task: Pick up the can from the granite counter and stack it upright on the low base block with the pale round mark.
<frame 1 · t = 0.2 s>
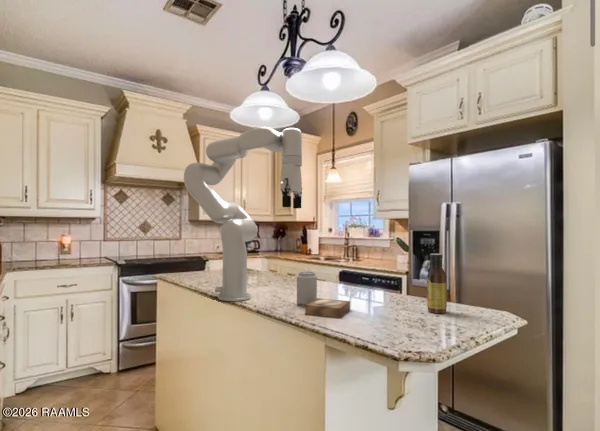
hand: (292, 207, 138), 36 cm above the table, tool pointing down, fingers open, 9 cm apart
can: (306, 304, 137), on the table
base: (328, 311, 125), on the table
sauce bottle: (436, 312, 126), on the table
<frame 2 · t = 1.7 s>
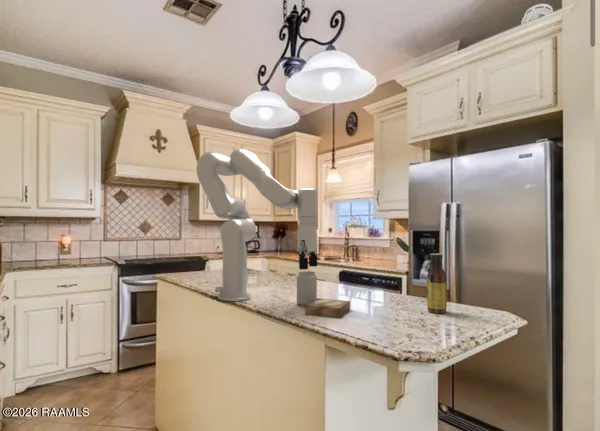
hand: (308, 267, 137), 14 cm above the table, tool pointing down, fingers open, 9 cm apart
nothing on the table moved.
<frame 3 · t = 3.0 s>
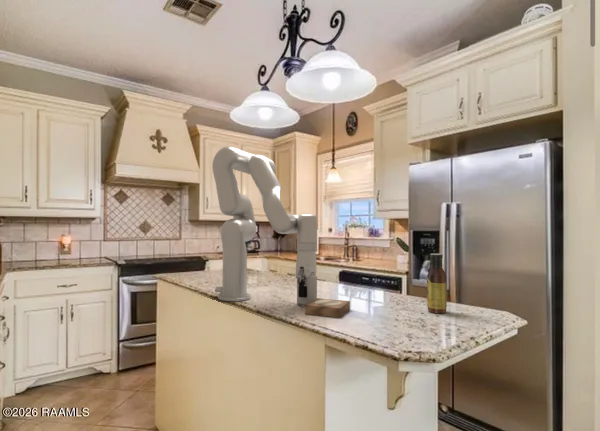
hand: (306, 294, 137), 3 cm above the table, tool pointing down, fingers closed on can, 7 cm apart
can: (306, 304, 137), on the table, touching gripper
everything else where it was.
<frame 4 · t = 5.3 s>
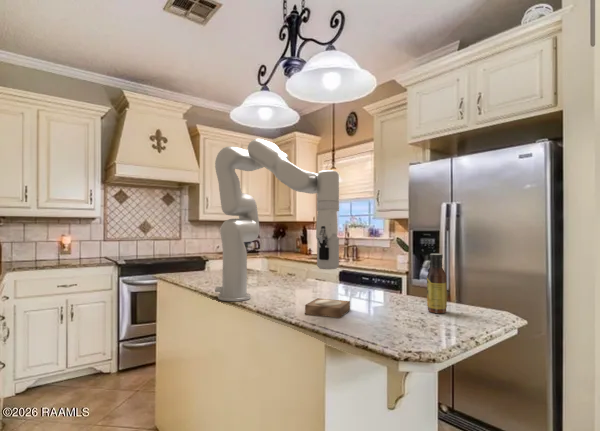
hand: (327, 258, 126), 18 cm above the table, tool pointing down, fingers closed on can, 7 cm apart
can: (327, 269, 126), point 14 cm above the table, touching gripper
everything else where it was.
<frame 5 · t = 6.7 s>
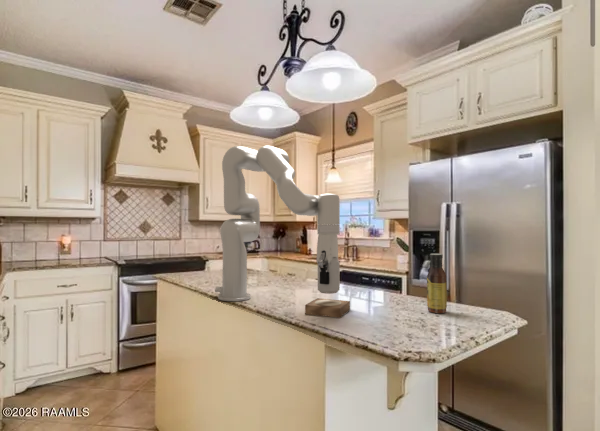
hand: (328, 281, 125), 10 cm above the table, tool pointing down, fingers closed on can, 7 cm apart
can: (328, 292, 125), point 6 cm above the table, touching gripper
everything else where it was.
when the fingers open (8 cm above the table, at t = 7.8 s): can drops 1 cm, resting on base.
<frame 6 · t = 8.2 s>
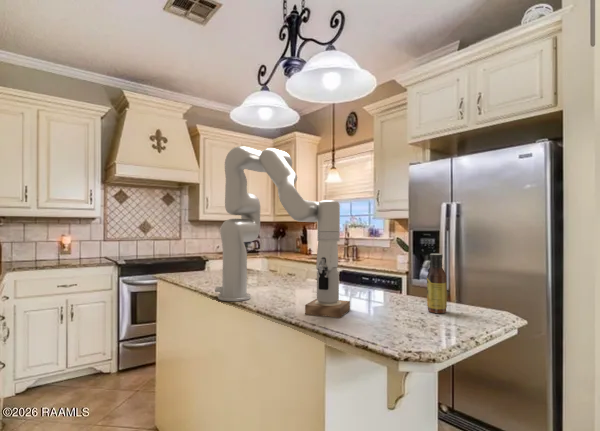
hand: (328, 287, 125), 8 cm above the table, tool pointing down, fingers open, 9 cm apart
can: (327, 302, 125), point 3 cm above the table, touching base
everything else where it was.
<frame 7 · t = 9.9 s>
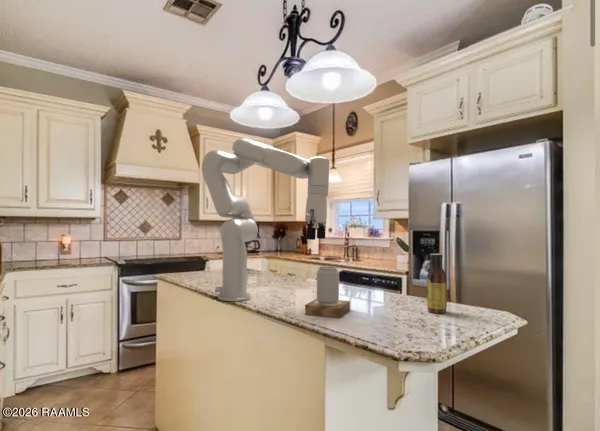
hand: (316, 238, 133), 24 cm above the table, tool pointing down, fingers open, 9 cm apart
nothing on the table moved.
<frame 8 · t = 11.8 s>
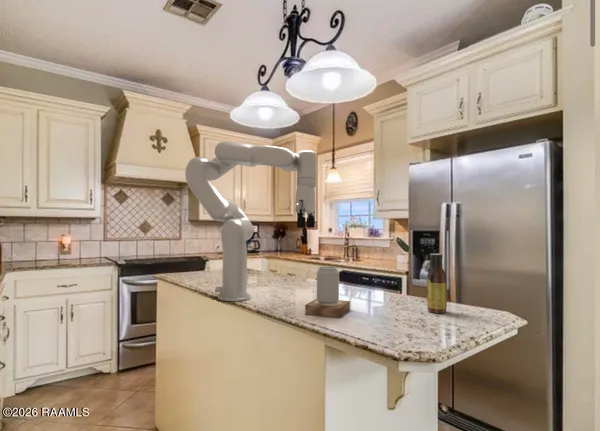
hand: (306, 227, 142), 28 cm above the table, tool pointing down, fingers open, 9 cm apart
nothing on the table moved.
at the end: can inside the target area on the base (0.2 cm from its centre), point 3.0 cm above the base's base; can tilted 0°; the gripper is holding nothing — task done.
